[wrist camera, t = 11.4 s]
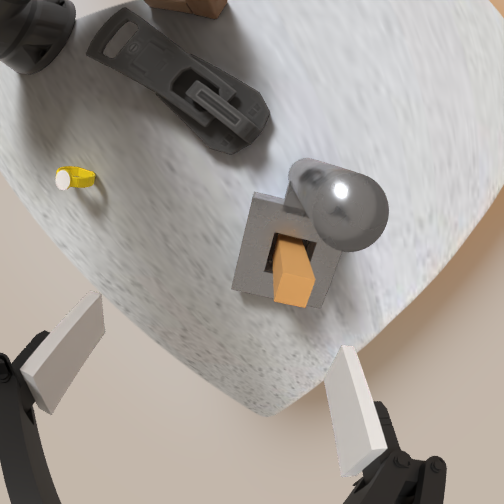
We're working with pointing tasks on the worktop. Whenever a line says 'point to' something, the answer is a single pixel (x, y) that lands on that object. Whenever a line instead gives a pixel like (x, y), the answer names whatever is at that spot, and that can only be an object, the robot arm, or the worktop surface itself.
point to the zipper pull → (186, 84)
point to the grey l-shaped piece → (311, 224)
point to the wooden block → (191, 6)
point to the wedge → (291, 272)
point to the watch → (68, 180)
